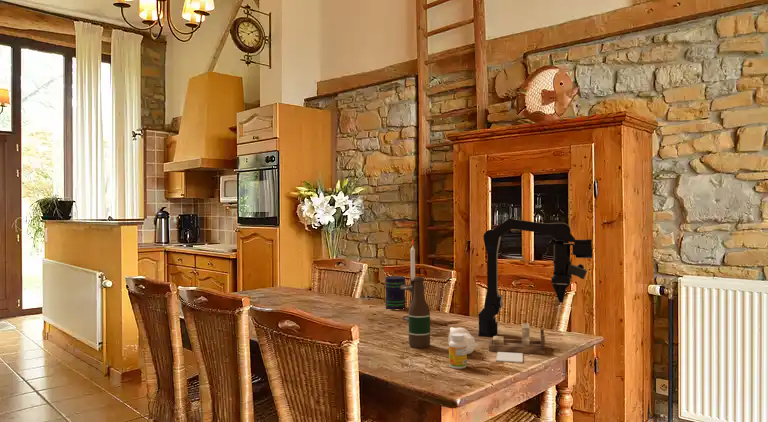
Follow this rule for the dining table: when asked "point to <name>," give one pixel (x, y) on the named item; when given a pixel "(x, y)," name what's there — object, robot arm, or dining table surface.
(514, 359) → the felt pad
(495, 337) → the offcut stack
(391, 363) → the dining table surface
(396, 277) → the storage jar
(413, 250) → the candlestick
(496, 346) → the rack
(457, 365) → the supplement bottle
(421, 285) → the beer bottle
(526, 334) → the birch sheet
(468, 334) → the cat figurine
